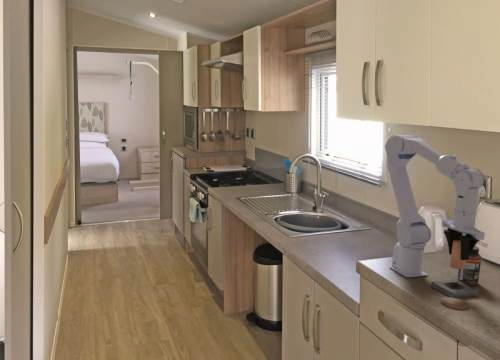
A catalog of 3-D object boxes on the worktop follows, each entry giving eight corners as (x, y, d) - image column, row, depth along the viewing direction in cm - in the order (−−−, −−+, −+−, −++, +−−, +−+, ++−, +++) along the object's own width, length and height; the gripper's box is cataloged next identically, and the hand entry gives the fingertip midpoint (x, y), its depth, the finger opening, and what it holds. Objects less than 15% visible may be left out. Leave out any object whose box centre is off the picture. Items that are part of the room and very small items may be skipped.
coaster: (435, 300, 138) (435, 298, 138) (455, 298, 140) (455, 296, 140) (453, 310, 132) (453, 309, 132) (474, 308, 134) (474, 306, 134)
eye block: (431, 286, 148) (431, 281, 148) (455, 284, 152) (456, 279, 151) (452, 298, 140) (453, 293, 140) (478, 295, 143) (478, 290, 143)
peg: (446, 264, 146) (450, 240, 145) (457, 264, 147) (461, 239, 146) (456, 269, 142) (460, 244, 141) (467, 268, 143) (471, 243, 142)
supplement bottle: (460, 277, 158) (464, 242, 156) (480, 282, 154) (485, 247, 152) (454, 282, 153) (458, 246, 151) (474, 287, 150) (479, 251, 148)
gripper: (435, 205, 147) (430, 250, 149) (472, 217, 134) (466, 266, 136) (455, 205, 150) (449, 248, 152) (493, 216, 136) (486, 264, 138)
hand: (458, 257), depth 144 cm, fingers closed on peg, 4 cm apart
